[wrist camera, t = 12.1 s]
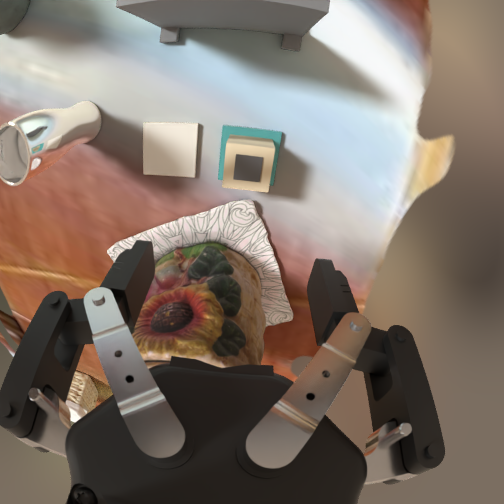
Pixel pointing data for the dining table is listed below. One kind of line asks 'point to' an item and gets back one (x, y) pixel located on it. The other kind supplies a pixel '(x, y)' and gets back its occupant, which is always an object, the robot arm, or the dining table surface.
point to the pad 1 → (170, 148)
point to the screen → (231, 16)
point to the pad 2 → (253, 133)
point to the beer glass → (44, 139)
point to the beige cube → (248, 163)
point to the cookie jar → (209, 288)
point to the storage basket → (81, 396)
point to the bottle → (11, 13)
